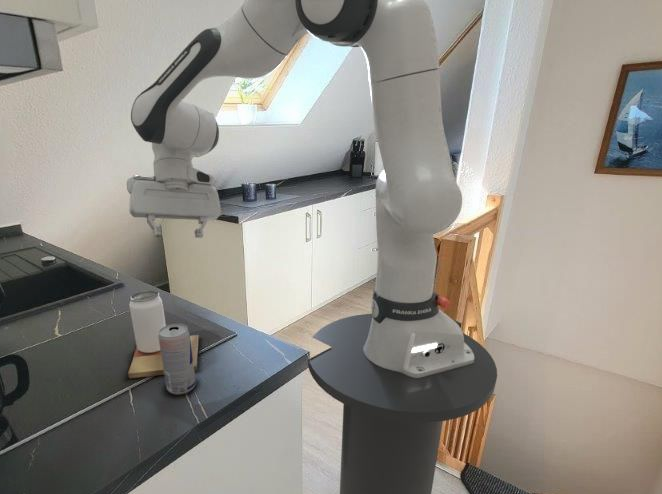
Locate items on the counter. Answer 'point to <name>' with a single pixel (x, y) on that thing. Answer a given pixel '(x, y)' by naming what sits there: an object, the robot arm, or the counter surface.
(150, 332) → the can
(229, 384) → the counter surface
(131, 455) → the counter surface
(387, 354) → the robot arm
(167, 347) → the energy drink
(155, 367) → the square wooden board
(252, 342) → the counter surface
